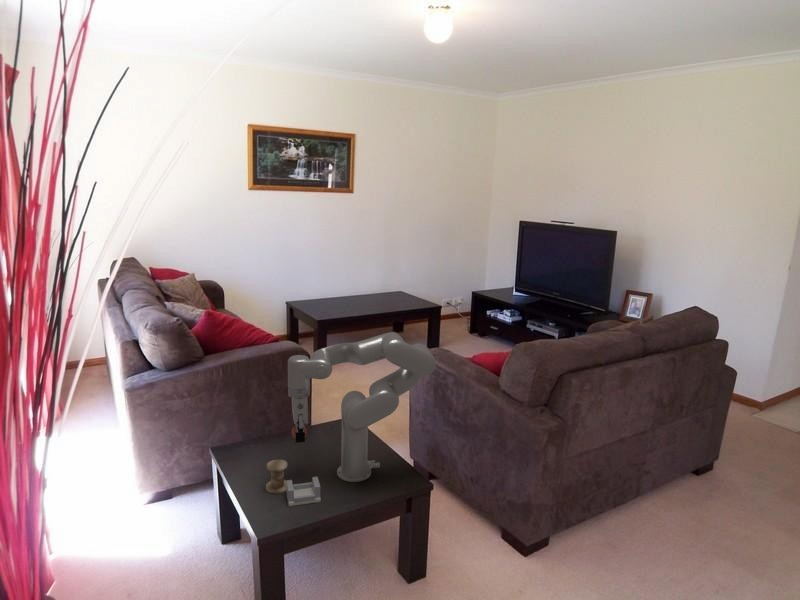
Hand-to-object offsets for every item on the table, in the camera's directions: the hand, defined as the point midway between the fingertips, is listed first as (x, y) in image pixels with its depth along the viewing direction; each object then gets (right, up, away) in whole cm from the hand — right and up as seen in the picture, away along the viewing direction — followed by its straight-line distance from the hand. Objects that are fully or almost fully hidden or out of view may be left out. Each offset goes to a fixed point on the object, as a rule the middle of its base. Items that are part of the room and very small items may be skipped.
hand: (299, 437), depth 193 cm
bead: (0, -1, 0) cm, 1 cm away
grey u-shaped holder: (+3, -18, -9) cm, 20 cm away
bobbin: (-7, -16, -4) cm, 18 cm away
